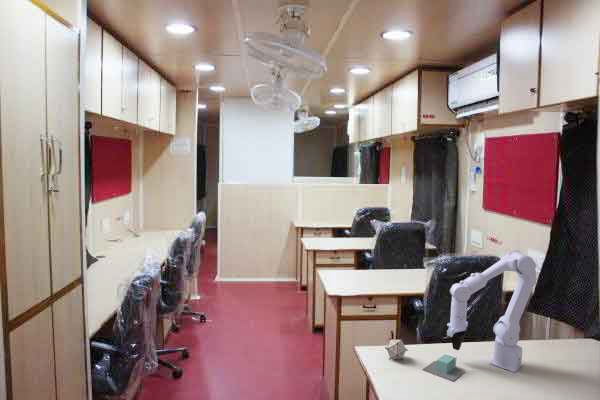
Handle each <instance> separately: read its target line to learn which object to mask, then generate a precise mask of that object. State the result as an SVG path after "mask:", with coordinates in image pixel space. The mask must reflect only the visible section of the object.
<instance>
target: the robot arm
mask: <svg viewBox="0 0 600 400" xmlns="http://www.w3.org/2000/svg"><path fill="white" fill-rule="evenodd" d="M536 267H537V263H536V262H535V260H534V258H533V257H531V256H529V255H527V254H524V253H523V252H521V251H519V250H512V251H510V252H509V253H507V254H505V255H504V256H503V257H502V258H500V260H498V261H497V262H495V263H494V264H493V265H491V266H490V267H488V268H487V269H485V270H483V272H475V273H474V272H473V273H470V276H468V277H466V278H465V279H464V280H460V281H459V282H458V283H457V282H456V283H453V284H452V285H451V287H450V289H449V294H450V295H451V303H450V319H449V322H448V323H447V324H446V326H447V327H448V329H447V330H446V336H447V337H450V340H451V345H452V348H453V350H456V351H459V350H461V347H462V344H463V340H464V338H465V336H466V335H467V333H468V332H467V331H466V330H467V327H468V326H469V325H468V324H469V321H467V310H468V301H469V299H470V298H471V295H473V294H474V293H476V292H477V291H479V290H481V289H482V288H484V287H486V286H487V282H488V281H489V280H491V279H492V278H493V279H494V278H495V277H496V276H497V277H498V276H499V275H500V274H503V273H504V272H506V271H507V272H516V274H517V276H518V277H519V279H518V281H517V283H516V286H515V289H514V291H513V294H512V296H511V299H510V301H509V303H508V306H507V308H506V311H505V314H504V315H502V316H500V317H499V319H498V321H497V322H496V323H495V324H494V326H493V328H492V330H493V333H494V334H495V339H494V349H493V350H494V351H493V359H492V360H491V361H489V365H491V366H492V365H493V366H495V367H496V368H497V367H498V368H500V369H504V370H506V371H510V372H513V373H516V372H517V371H518V370H519V369H520V368H521V367H522V365H523V364H522V361H523V360H522V359H523V347H522V346H520V345H518V342H519V341H520V332H521V327H520V320H521V318H522V315H523V313H524V311H525V308H526V306H527V303H528V301H529V299H530V296H531V294H532V292H533V290H534V287H535V285H536V282H537V271H536Z"/></svg>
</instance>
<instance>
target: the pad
mask: <svg viewBox="0 0 600 400" xmlns="http://www.w3.org/2000/svg"><path fill="white" fill-rule="evenodd" d="M436 366H437V360H433V361H432V362H431V363H430V364H428V365H426V366H425V367H424V368H422V371H424V372H426V373H430V374H431V375H434V376H437V377H440V378H442V379H445V380H448V381H450V382H454V381H456V380H457V379H459V378H460V377H461V376H462V375H464V374H465V373H466V370H462V369H460V368H457V367H455V368H454V369H452V370H451V371H450V372H448V373H447V374H445V373H443V372H440V371H437V370H436Z"/></svg>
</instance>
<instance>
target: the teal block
mask: <svg viewBox="0 0 600 400" xmlns="http://www.w3.org/2000/svg"><path fill="white" fill-rule="evenodd" d="M457 358H458V357H457V355H456V356H455V355H453V354H451V353H447V352H446V353H444V354H443V355H442V356H440V357H439V358H437V360H436V361H437V366H436V370H437V371H440V372H443V373H445V374H447V373H448V372H450V371H451V370H452V369H454V368H457Z"/></svg>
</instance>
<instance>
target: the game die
mask: <svg viewBox="0 0 600 400" xmlns="http://www.w3.org/2000/svg"><path fill="white" fill-rule="evenodd" d="M403 340H404V338H403V337H402V338H401V339H394V338H391V337H389V342H388V343H387V345H386V346H385V347H384V349H386V351H387V353H388V356H389V358H388V360H391V359H396V360H397V359H398V360H399V359H400V360H401V361H402V362H403V361H404V359H403V357H404V356H405V353H406V352H407V351H409V349H407V348H406V346H405V343H404V342H403Z"/></svg>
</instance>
